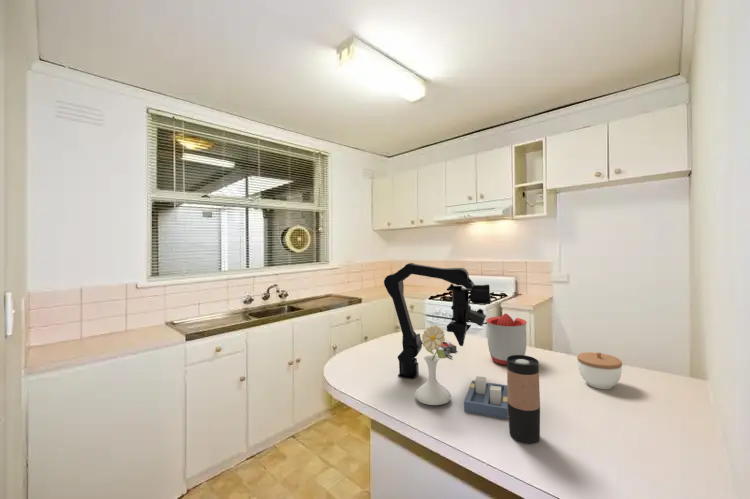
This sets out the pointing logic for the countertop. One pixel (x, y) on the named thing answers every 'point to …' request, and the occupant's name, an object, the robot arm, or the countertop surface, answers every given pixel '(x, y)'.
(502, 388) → the switch panel
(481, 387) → the left tab
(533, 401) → the travel mug
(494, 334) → the citrus juicer
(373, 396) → the countertop surface
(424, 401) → the flower in vase
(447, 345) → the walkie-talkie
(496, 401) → the right tab
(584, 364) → the lidded bowl
